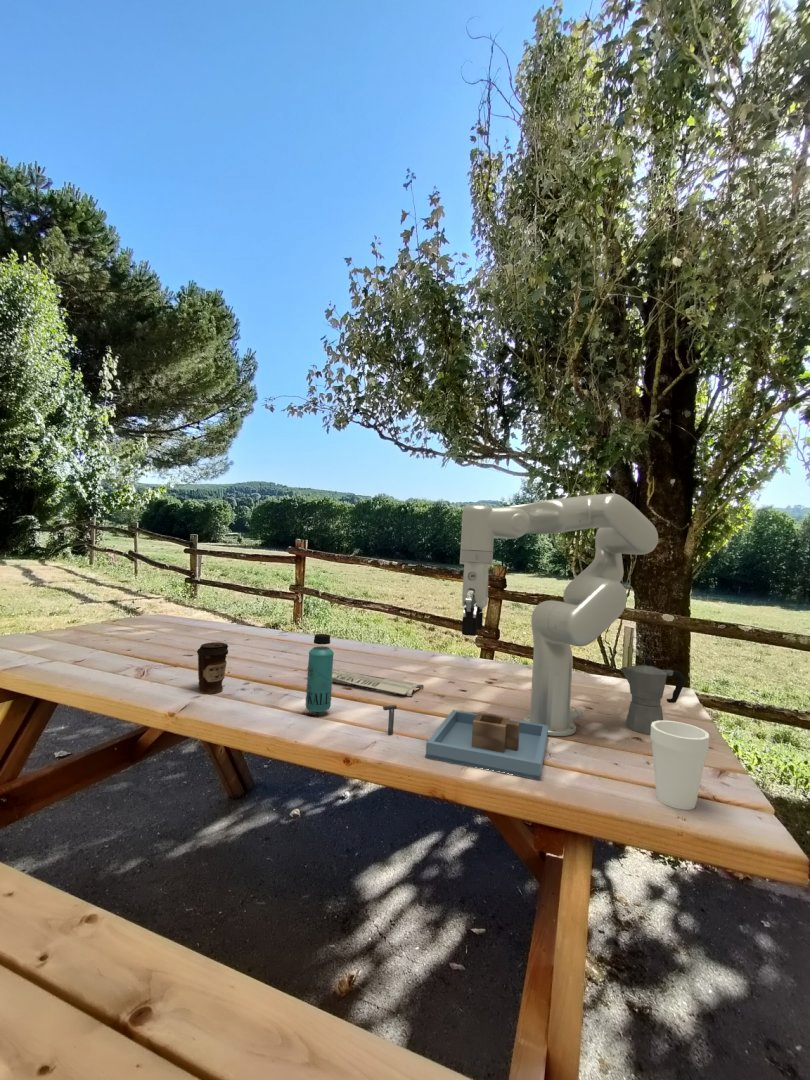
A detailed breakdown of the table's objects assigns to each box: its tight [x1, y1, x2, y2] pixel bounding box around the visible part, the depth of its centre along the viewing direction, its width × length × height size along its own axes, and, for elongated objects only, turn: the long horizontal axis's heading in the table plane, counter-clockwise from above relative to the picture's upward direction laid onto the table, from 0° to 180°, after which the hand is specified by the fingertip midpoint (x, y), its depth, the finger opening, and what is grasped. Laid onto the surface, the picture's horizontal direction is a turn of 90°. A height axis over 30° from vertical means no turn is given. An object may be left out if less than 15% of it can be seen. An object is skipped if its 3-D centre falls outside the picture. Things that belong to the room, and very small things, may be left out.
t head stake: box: [382, 704, 397, 736], centre depth 117 cm, size 3×1×6 cm, turn 116°
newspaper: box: [306, 668, 425, 697], centre depth 157 cm, size 35×12×4 cm, turn 67°
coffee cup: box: [196, 641, 229, 694], centre depth 142 cm, size 9×8×13 cm
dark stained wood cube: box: [472, 711, 520, 753], centre depth 113 cm, size 10×7×6 cm
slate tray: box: [425, 709, 549, 781], centre depth 113 cm, size 23×23×3 cm
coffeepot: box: [619, 658, 686, 736], centre depth 131 cm, size 15×9×18 cm, turn 76°
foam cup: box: [649, 720, 710, 811], centre depth 93 cm, size 10×9×13 cm
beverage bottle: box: [305, 633, 335, 713], centre depth 129 cm, size 6×7×20 cm
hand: (472, 631), depth 119 cm, fingers open, 9 cm apart
